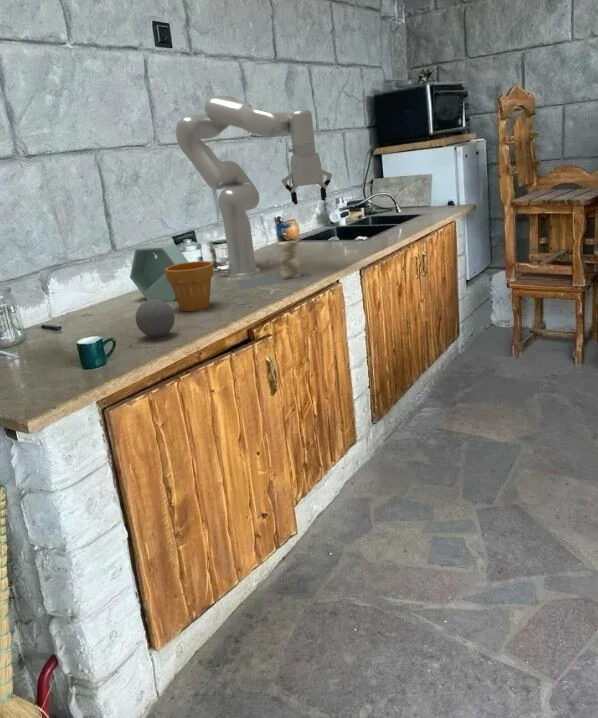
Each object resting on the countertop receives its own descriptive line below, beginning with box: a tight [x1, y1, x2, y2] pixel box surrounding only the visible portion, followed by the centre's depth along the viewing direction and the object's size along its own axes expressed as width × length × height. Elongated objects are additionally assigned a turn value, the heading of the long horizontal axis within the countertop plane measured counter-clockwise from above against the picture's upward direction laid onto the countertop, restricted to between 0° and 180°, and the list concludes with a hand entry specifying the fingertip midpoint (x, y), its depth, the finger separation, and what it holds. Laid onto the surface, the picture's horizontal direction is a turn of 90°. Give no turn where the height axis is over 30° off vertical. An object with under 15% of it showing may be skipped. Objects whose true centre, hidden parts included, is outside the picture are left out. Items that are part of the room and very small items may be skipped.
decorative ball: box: [135, 299, 176, 338], centre depth 180 cm, size 10×10×10 cm
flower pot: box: [165, 260, 215, 312], centre depth 208 cm, size 14×14×13 cm
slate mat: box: [236, 271, 312, 289], centre depth 236 cm, size 24×14×1 cm, turn 101°
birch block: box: [276, 240, 301, 280], centre depth 235 cm, size 6×6×12 cm
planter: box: [129, 242, 189, 302], centre depth 225 cm, size 17×8×21 cm
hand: (309, 202), depth 233 cm, fingers open, 9 cm apart
